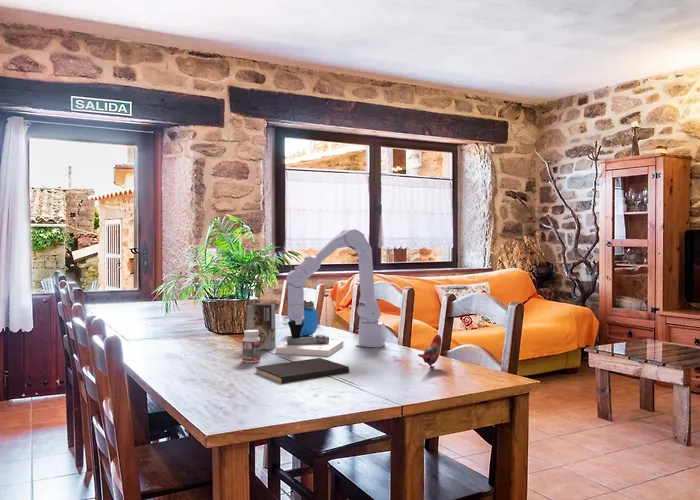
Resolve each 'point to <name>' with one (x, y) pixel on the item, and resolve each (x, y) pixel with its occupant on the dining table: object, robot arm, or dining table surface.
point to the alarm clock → (309, 319)
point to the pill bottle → (251, 346)
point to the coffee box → (263, 323)
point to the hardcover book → (301, 370)
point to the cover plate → (310, 348)
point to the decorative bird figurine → (432, 352)
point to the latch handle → (308, 340)
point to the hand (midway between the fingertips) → (295, 341)
